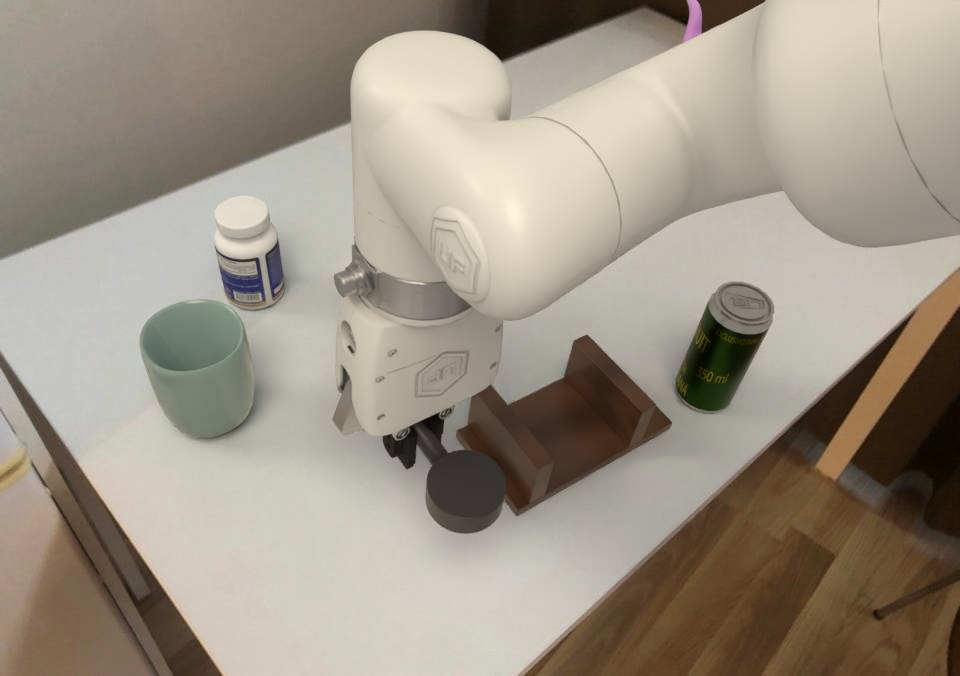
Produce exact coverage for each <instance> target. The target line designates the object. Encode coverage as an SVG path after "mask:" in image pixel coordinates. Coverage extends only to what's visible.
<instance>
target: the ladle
mask: <svg viewBox="0 0 960 676" xmlns="http://www.w3.org/2000/svg"><path fill="white" fill-rule="evenodd" d="M411 427H412V428H413V430H414V431H415V433H416V435H417V441H416V444H417V448H418V449H419V450H420V451H421V453H422V454H423V455H424V457H425V458H426V460H427V461H428V463H429V464H430V465H431V466H430V469H429V470H428V473H427V475H426V481H425V496H424V497H425V506H426V510H427V511H428V513H429V515H430V516H431V518H432V519H433V520H434V521H435V522H436V523H437V525H439V526H440V527H441V528H444V529H445V530H447V531H448V532H449V531H450V532H453V533H456V534H461V535H462V534H465V535H469V534H475V533H479V532H482V531H484V530H486V529H488V528H489V527H491V526H492V525H493V524H494V523H495V522H496V521H497V520H498V519H499V517H500V515H501V513H502V510H503V507H504V502H505V500H504V498H505V493H506V479H505V476H504V473H503V471H502V470H501V468H500V467H499V465H498V464H497V463H496V462H495V461H494V460H493V459H491V458H490V457H488V456H487V455H485V454H483V453H480V452H477V451H472V450H466V449H458V450H453V451H449V452H448V450H447V449H446V448H445V446H444V445H443V444H442V441H441V442H440V441H439V440H438V438H437V437H436V436H435V434H434V433H433V432H432V430H431V429H430V428H429V426H428V425H427V424H426V422H425V421H424V420H422V421H419V422H417V423H415V424H413V425H411Z"/></svg>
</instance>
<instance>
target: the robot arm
mask: <svg viewBox="0 0 960 676" xmlns="http://www.w3.org/2000/svg"><path fill="white" fill-rule="evenodd" d="M716 26H717V27H716ZM716 26H714V27H715V28H714V27H712V28H713V29H712V28H710V29H711V30H710V29H709V30H707V31H705V32H702V34H700V35H698V36H696V37H694V38H692V39H690V40H688V41H686V42H684V43H683V42H682V43H679V44H677V45H675V46H673V47H671V48H669V49H667V50H665V51H663V52H661V53H659V54H657V55H653V56H652V57H650V58H647V59H646V60H644V61H642V62H639V63H637V64H635V65H632V66H631V67H628V68H626V69H624V70H621V71H619V72H618V73H615V74H613V75H611V76H608V77H606V78H605V79H602V80H600V81H598V82H595V83H593V84H592V85H589V86H587V87H584V88H582V89H581V90H578V91H576V92H574V93H571V94H569V95H567V96H565V97H563V98H561V99H558V100H557V101H554V102H553V103H551V104H549V105H546V106H544V107H543V108H540V109H537V110H536V111H534V112H532V113H530V114H528V115H525V116H524V117H521V118H518V119H511V114H512V101H513V88H512V83H511V80H510V76H509V73H508V70H507V69H506V68H505V66H504V64H503V62H502V61H501V59H500V58H499V57H498V56H497V54H495V53H494V52H493V51H491V50H490V49H489V48H487V47H486V46H484V45H483V44H481V43H479V42H477V41H475V40H473V39H472V38H468V37H466V36H463V35H460V34H456V33H451V32H445V31H439V30H428V29H427V30H426V29H425V30H410V31H403V32H399V33H395V34H391V35H389V36H386V37H384V38H382V39H380V40H378V41H376V42H375V43H373V44H372V45H370V46H369V47H368V48H367V49H366V50H365V51H364V52H363V53H362V54H361V56H360V57H359V59H358V60H357V61H356V64H355V66H354V68H353V71H352V75H351V79H350V88H349V89H350V92H349V93H350V94H349V95H350V96H349V99H350V131H351V132H350V135H351V167H352V168H351V169H352V171H351V172H352V201H353V204H352V205H353V233H354V236H353V237H354V238H353V239H354V240H353V241H354V243H353V244H351V262H350V264H349V265H348V266H346V267H345V268H344V270H342V271H340V272H337V273H334V275H333V282H334V285H335V288H336V290H337V292H338V294H339V296H341V303H340V308H339V314H338V320H337V326H336V338H335V351H334V352H335V354H334V355H335V356H334V357H335V359H334V362H335V365H334V367H335V382H336V389H337V391H338V392H339V394H340V395H341V396H340V398H339V401H338V403H337V406H336V408H335V411H334V413H333V416H332V418H331V419H332V422H333V424H334V425H335V426H336V428H337V429H338V431H339V433H340V434H341V435H342V436H347V435H352V434H357V433H361V432H365V433H366V434H367V435H368V436H369V437H382V445H383V447H384V450H385V451H386V453H387V455H389V457H390V458H391V459H395V458H397V459H398V460H399V461H400V463H401V464H402V466H403V467H404V468H405V470H410V469H412V468H414V467H415V464H416V462H417V460H416V459H417V448H418V446H417V444H416V441H417V435H416V433H415V431H414V430H413V428H412V427H411V425H413V424H415V423H417V422H419V421H422V420H424V421H425V422H426V424H427V425H428V426H429V428H430V429H431V430H432V432H433V433H434V434H435V436H436V437H437V438H438V440H439V441H440V442H441V443H442V438H443V434H444V428H445V419H447V418H449V417H450V416H451V415H452V414H453V413H454V411H455V405H457V404H459V403H461V402H463V401H466V400H467V399H470V398H471V396H473V395H475V394H477V393H479V392H481V391H482V390H484V389H485V388H487V387H488V386H489V385H490V384H491V385H492V384H493V383H494V381H495V380H496V378H497V376H498V373H499V369H500V364H501V358H502V349H503V339H504V336H503V335H504V321H509V322H510V321H519V320H523V319H526V318H530V317H532V316H534V315H536V314H538V313H540V312H541V311H543V310H545V309H547V308H549V306H551V305H553V304H554V303H556V302H557V301H559V300H560V299H562V298H563V297H565V296H566V295H567V294H569V293H570V292H572V291H574V290H575V289H576V288H578V287H580V286H581V285H582V284H584V283H585V282H587V281H588V280H590V279H591V278H593V277H595V276H596V275H597V274H599V273H601V272H602V271H603V270H604V269H605V268H606V267H608V266H609V265H611V264H612V263H614V262H616V261H617V260H619V259H620V258H622V257H623V256H624V255H626V254H627V253H628V252H631V250H633V249H635V248H636V247H638V246H639V245H640V244H642V243H644V242H645V241H646V240H648V239H650V238H651V237H653V236H654V235H656V234H657V233H659V232H661V231H662V230H664V229H665V228H667V227H668V226H670V225H671V224H673V223H675V222H678V221H679V220H681V219H684V218H685V217H688V216H691V215H693V214H696V213H699V212H700V213H701V212H703V211H705V210H709V209H714V208H717V207H721V206H725V205H729V204H732V203H735V202H740V201H742V200H743V201H744V200H747V199H748V200H749V199H752V198H756V197H757V198H758V197H760V196H764V195H765V196H766V195H770V194H774V193H779V192H784V194H785V195H786V197H787V198H788V200H789V201H790V203H791V204H792V205H793V206H794V208H795V209H796V211H797V212H798V213H799V214H800V215H801V216H802V217H803V219H805V220H806V221H807V222H808V223H810V224H811V225H812V227H814V228H816V229H817V230H819V231H820V232H822V233H823V234H825V236H828V237H829V238H831V239H832V240H835V241H837V242H840V243H842V244H846V245H850V246H854V247H858V248H864V249H865V248H871V249H874V248H875V249H877V248H878V249H879V248H886V247H887V248H888V247H896V246H903V245H904V246H905V245H910V244H911V245H912V244H915V243H921V242H927V241H932V240H939V239H943V238H949V237H956V236H960V0H765V1H764V2H762V3H760V4H759V5H756V6H755V7H753V8H751V9H749V10H747V11H745V12H744V13H741V14H739V15H738V16H735V17H733V18H731V19H729V20H727V21H725V22H723V23H721V24H719V26H718V25H716Z"/></svg>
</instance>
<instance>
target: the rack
mask: <svg viewBox="0 0 960 676" xmlns="http://www.w3.org/2000/svg"><path fill="white" fill-rule="evenodd" d="M672 425H673V421H672V420H671V419H670V418H669V417H668V416H667V415H666V414H665V413H664V412H663V411H662V410H661V409H660V408H659V407H658V405H657V403H656V402H655V401H654V400H653V399H652V398H651V397H650V396H649V395H648V394H647V393H646V392H645V391H644V390H643V389H642V388H641V387H640V386H639V384H637V383H636V382H635V381H634V380H633V379H632V378H631V377H630V376H629V375H628V373H626V372H625V371H624V370H623V368H621V366H619V365H618V363H616V362H615V360H614V359H612V357H610V356H609V354H608V353H606V351H605V350H604V349H603V348H602V347H601V346H600V345H599V344H598V343H597V342H596V341H595V340H594V339H593V338H592V337H591V336H590V335H589V334H588V333H586V334H584V335H582V336H581V337H578V338H576V339H574V340H573V341H572V345H571V349H570V353H569V356H568V361H567V364H566V368H565V372H564V376H563V377H562V378H560V379H557V380H556V381H553V382H552V383H549V384H548V385H545V386H543V387H541V388H539V389H537V390H535V391H533V392H531V393H529V394H528V395H525V396H523V397H521V398H519V399H518V400H515V401H513V402H511V403H509V404H508V403H507V402H506V401H505V400H504V398H503V397H502V396H501V395H500V393H499V392H498V390H496V389H495V387H494V386H493V385H492V383H491V384H490V385H489V386H488V387H487V388H485V389H484V390H482V391H481V392H479V393H477V394H475V395H473V396H471V397H470V403H469V410H468V418H467V425H464V426H463V427H460V428H459V429H457V430H456V433H455V438H456V440H458V442H459V443H460V444H461V446H462V447H463V448H464V450H472V451H477V452H480V453H483V454H485V455H487V456H488V457H490V458H491V459H493V460H494V461H495V462H496V463H497V464H498V465H499V467H500V468H501V470H502V471H503V473H504V476H505V479H506V493H505V498H504V502H505V503H506V504H507V506H508V507H509V508H510V510H511V511H512V512H513V514H514V515H515V516H516V517H518V516H520V515H522V514H524V513H525V512H527V511H529V510H531V509H532V508H534V507H536V506H537V505H540V504H542V503H543V502H545V501H546V500H548V499H551V497H553V496H556V495H557V494H559V493H560V492H562V491H564V490H566V489H567V488H569V487H571V486H572V485H574V484H576V483H577V482H579V481H581V480H583V479H585V478H587V477H588V476H590V475H591V474H593V473H595V472H596V471H599V470H601V469H602V468H604V467H606V466H608V465H609V464H611V463H612V462H614V461H617V460H618V459H620V458H622V457H623V456H625V455H627V454H628V453H630V452H631V451H634V450H635V449H637V448H639V447H641V446H642V445H644V444H646V443H647V442H649V441H651V440H653V439H654V438H656V437H658V436H660V435H661V434H663V433H665V432H667V431H669V430H670V429H671V427H672Z"/></svg>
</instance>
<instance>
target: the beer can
mask: <svg viewBox="0 0 960 676" xmlns="http://www.w3.org/2000/svg"><path fill="white" fill-rule="evenodd" d="M774 314H775V304H774V302H773V299H772V298H771V297H770V296H769V295H768V294H767V293H766V292H765V291H764V290H763V289H761V288H760V287H758V286H756V285H754V284H752V283H748V282H744V281H729V282H724V283H722V284H720V285H719V286H718V287H717V289H716V291H715V292H714V293H712V294H711V296H710V297H709V299H708V301H707V304H706V306H705V308H704V311H703V313H702V315H701V318H700V319H699V323H698V324H697V326H696V330H695V332H694V335H693V337H692V338H691V341H690V344H689V346H688V348H687V350H686V353H685V356H684V358H683V360H682V363H681V365H680V367H679V370H678V371H677V374H676V377H675V384H674V385H675V390H676V393H677V396H678V398H679V400H680V401H681V402H682V404H684V405H685V406H686V407H687V408H688V409H690V410H693V411H695V412H697V413H702V414H714V413H718V412H721V411H722V410H724V409H725V408H727V407H728V406H730V405H731V402H732V401H733V399H734V398H735V395H736V393H737V391H738V390H739V387H740V385H741V383H742V381H743V380H744V377H745V376H746V374H747V372H748V370H749V368H750V367H751V364H752V363H753V361H754V359H755V357H756V355H757V353H758V351H759V349H760V348H761V345H762V343H763V341H764V340H765V337H766V336H767V334H768V332H769V331H770V327H771V326H772V324H773V322H774Z"/></svg>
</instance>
